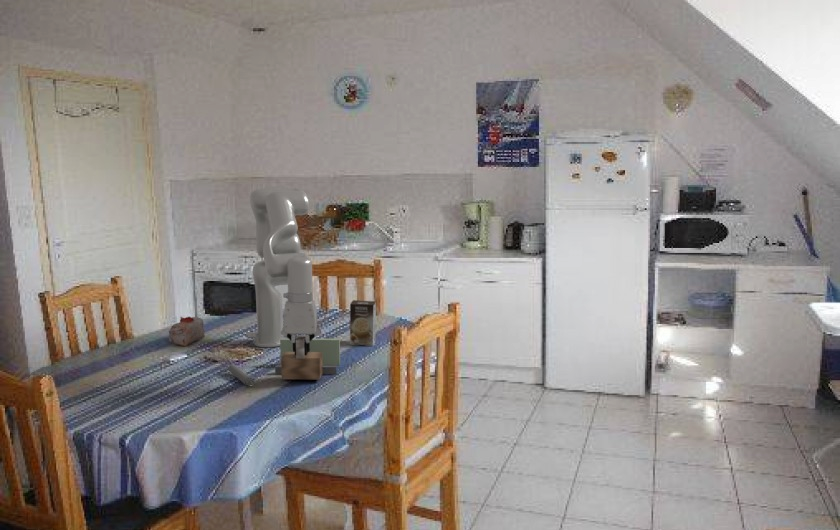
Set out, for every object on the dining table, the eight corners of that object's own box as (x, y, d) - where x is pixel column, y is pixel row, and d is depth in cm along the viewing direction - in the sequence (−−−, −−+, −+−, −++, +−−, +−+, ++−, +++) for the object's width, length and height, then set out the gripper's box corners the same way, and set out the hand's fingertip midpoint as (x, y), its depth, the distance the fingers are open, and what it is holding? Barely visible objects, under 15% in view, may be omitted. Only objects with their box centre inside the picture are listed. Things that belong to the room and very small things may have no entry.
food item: (186, 348, 246) (185, 322, 244) (167, 346, 248) (166, 320, 246) (207, 338, 259) (205, 313, 257) (188, 336, 261) (187, 312, 259)
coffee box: (349, 345, 250) (348, 303, 247) (352, 340, 256) (352, 300, 253) (373, 346, 249) (373, 304, 246) (376, 341, 255) (376, 300, 253)
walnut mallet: (281, 379, 209) (280, 339, 206) (285, 372, 215) (284, 333, 213) (319, 380, 209) (319, 340, 207) (322, 372, 215) (321, 334, 213)
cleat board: (275, 374, 218) (274, 347, 216) (281, 363, 228) (280, 338, 226) (336, 374, 218) (336, 347, 216) (340, 364, 228) (339, 338, 227)
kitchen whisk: (244, 391, 203) (243, 371, 202) (204, 363, 229) (203, 345, 228) (263, 387, 207) (262, 367, 206) (221, 360, 233) (220, 342, 232)
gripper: (271, 299, 203) (273, 357, 206) (324, 300, 203) (325, 358, 206) (276, 294, 210) (278, 349, 214) (327, 294, 210) (328, 350, 214)
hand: (301, 353), depth 210 cm, fingers closed on walnut mallet, 2 cm apart
